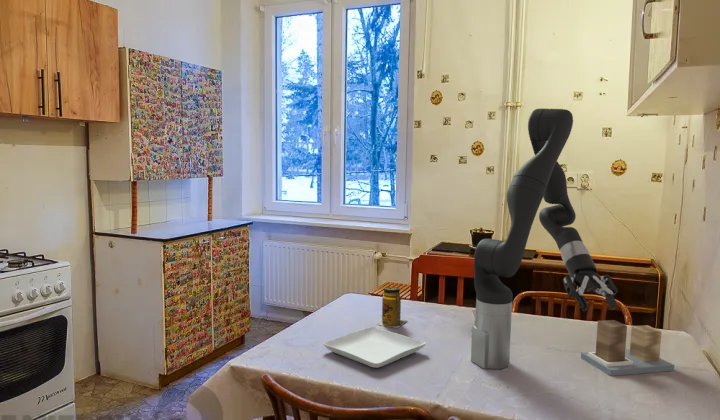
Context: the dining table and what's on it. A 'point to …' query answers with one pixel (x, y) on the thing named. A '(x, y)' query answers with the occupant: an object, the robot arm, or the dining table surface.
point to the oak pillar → (645, 343)
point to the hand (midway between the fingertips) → (600, 309)
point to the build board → (627, 364)
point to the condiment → (391, 308)
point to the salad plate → (374, 346)
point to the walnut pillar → (611, 341)
